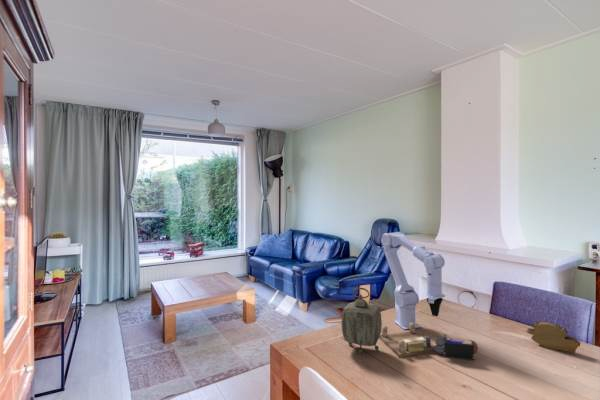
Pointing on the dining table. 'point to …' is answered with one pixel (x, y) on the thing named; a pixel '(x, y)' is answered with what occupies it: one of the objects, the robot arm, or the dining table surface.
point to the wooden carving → (553, 337)
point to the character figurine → (456, 348)
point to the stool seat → (398, 344)
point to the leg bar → (424, 339)
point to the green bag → (361, 322)
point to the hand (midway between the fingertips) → (435, 315)
